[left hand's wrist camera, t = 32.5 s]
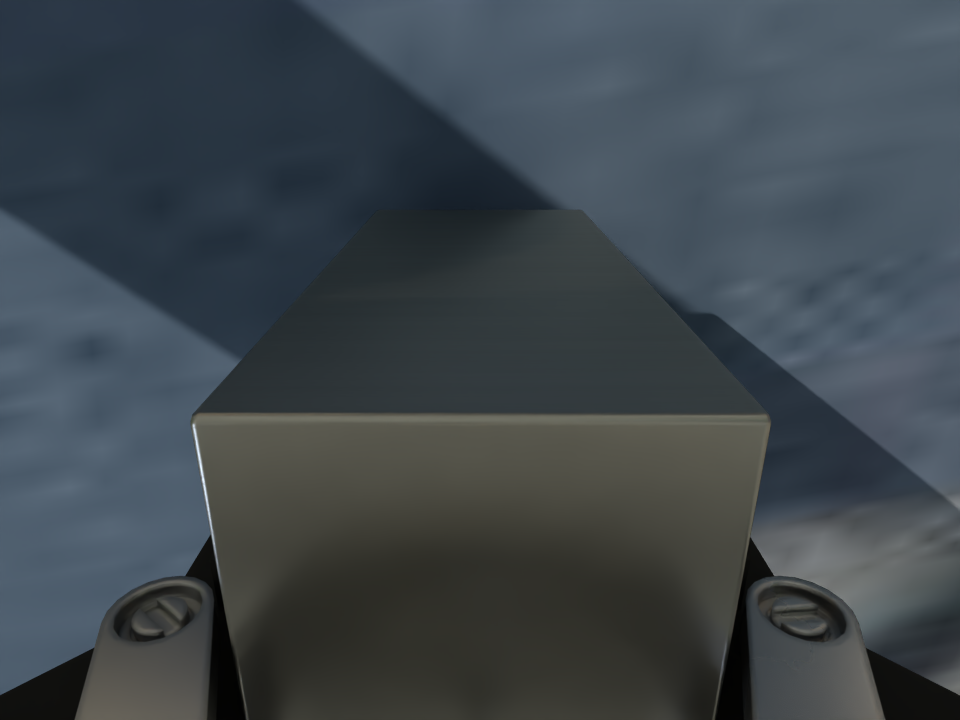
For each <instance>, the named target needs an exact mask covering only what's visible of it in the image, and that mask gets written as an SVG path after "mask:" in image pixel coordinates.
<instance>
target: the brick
mask: <svg viewBox="0 0 960 720" xmlns="http://www.w3.org/2000/svg"><path fill="white" fill-rule="evenodd" d="M770 426H771V419H770V416H769V414H768V413H767V411H766V410H765V409H764V408H763V407H762V406H761V405H760V404H759V403H758V402H757V401H756V399H755V398H754V397H753V396H752V395H751V394H750V393H749V392H748V391H747V390H746V388H745V387H744V386H743V385H742V384H741V383H740V382H739V381H738V380H737V379H736V378H735V376H734V375H733V374H732V373H731V372H730V371H729V370H728V369H727V368H726V367H725V366H724V364H723V363H722V362H721V361H720V360H719V359H718V358H717V357H716V356H715V355H714V354H713V352H712V351H711V350H710V349H709V348H708V347H707V346H706V345H705V344H704V343H703V342H702V340H701V339H700V338H699V337H698V336H697V335H696V334H695V333H694V332H693V331H692V330H691V328H690V327H689V326H688V325H687V324H686V323H685V322H684V321H683V320H682V319H681V318H680V316H679V315H678V314H677V313H676V312H675V311H674V310H673V309H672V308H671V307H670V306H669V304H668V303H667V302H666V301H665V300H664V299H663V298H662V297H661V296H660V295H659V294H658V292H657V291H656V290H655V289H654V288H653V287H652V286H651V285H650V284H649V283H648V282H647V280H646V279H645V278H644V277H643V276H642V275H641V274H640V273H639V272H638V271H637V270H636V268H635V267H634V266H633V265H632V264H631V263H630V262H629V261H628V260H627V259H626V258H625V256H624V255H623V254H622V253H621V252H620V251H619V250H618V249H617V248H616V247H615V245H614V244H613V243H612V242H611V241H610V240H609V239H608V238H607V237H606V236H605V235H604V233H603V232H602V231H601V230H600V229H599V228H598V227H597V226H596V225H595V224H594V223H593V221H592V220H591V219H590V218H589V217H588V216H587V215H586V214H585V213H584V212H583V211H582V210H378V211H376V212H375V213H374V214H373V216H372V217H371V218H370V219H369V220H368V221H367V222H366V223H365V224H364V226H363V227H362V228H361V229H360V230H359V231H358V232H357V233H356V234H355V235H354V237H353V238H352V239H351V240H350V241H349V242H348V243H347V244H346V245H345V247H344V248H343V249H342V250H341V251H340V252H339V253H338V254H337V255H336V256H335V258H334V259H333V260H332V261H331V262H330V263H329V264H328V265H327V266H326V268H325V269H324V270H323V271H322V272H321V273H320V274H319V275H318V276H317V277H316V279H315V280H314V281H313V282H312V283H311V284H310V285H309V286H308V287H307V288H306V290H305V291H304V292H303V293H302V294H301V295H300V296H299V297H298V298H297V300H296V301H295V302H294V303H293V304H292V305H291V306H290V307H289V308H288V309H287V311H286V312H285V313H284V314H283V315H282V316H281V317H280V318H279V319H278V321H277V322H276V323H275V324H274V325H273V326H272V327H271V328H270V329H269V330H268V332H267V333H266V334H265V335H264V336H263V337H262V338H261V339H260V340H259V342H258V343H257V344H256V345H255V346H254V347H253V348H252V349H251V350H250V351H249V353H248V354H247V355H246V356H245V357H244V358H243V359H242V360H241V361H240V363H239V364H238V365H237V366H236V367H235V368H234V369H233V370H232V371H231V372H230V374H229V375H228V376H227V377H226V378H225V379H224V380H223V381H222V382H221V383H220V385H219V386H218V387H217V388H216V389H215V390H214V391H213V392H212V393H211V395H210V396H209V397H208V398H207V399H206V400H205V401H204V402H203V403H202V404H201V406H200V407H199V408H198V409H197V410H196V411H195V412H194V413H193V414H192V418H191V429H192V435H193V440H194V446H195V451H196V457H197V462H198V467H199V473H200V478H201V484H202V489H203V495H204V500H205V505H206V511H207V516H208V522H209V527H210V533H211V538H212V544H213V549H214V554H215V560H216V565H217V571H218V576H219V582H220V587H221V592H222V598H223V603H224V609H225V614H226V620H227V625H228V631H229V636H230V641H231V647H232V652H233V658H234V663H235V669H236V674H237V679H238V685H239V690H240V696H241V701H242V707H243V712H244V717H245V720H716V718H717V713H718V708H719V702H720V697H721V691H722V686H723V681H724V675H725V670H726V664H727V659H728V653H729V648H730V643H731V637H732V632H733V626H734V621H735V616H736V610H737V605H738V599H739V594H740V589H741V583H742V578H743V572H744V567H745V562H746V556H747V551H748V545H749V540H750V535H751V529H752V524H753V518H754V513H755V508H756V502H757V497H758V491H759V486H760V481H761V475H762V470H763V464H764V459H765V454H766V448H767V443H768V437H769V432H770Z"/></svg>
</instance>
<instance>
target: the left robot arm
mask: <svg viewBox="0 0 960 720" xmlns="http://www.w3.org/2000/svg"><path fill="white" fill-rule="evenodd" d="M0 720H245V717H244V712H243V707H242V701H241V696H240V690H239V685H238V679H237V674H236V669H235V663H234V658H233V652H232V647H231V641H230V636H229V631H228V625H227V620H226V614H225V609H224V603H223V598H222V592H221V587H220V582H219V576H218V571H217V565H216V560H215V554H214V549H213V544H212V538H211V535H210V537H209V538H208V540H207V541H206V543H205V545H204V546H203V548H202V550H201V551H200V553H199V554H198V556H197V558H196V559H195V561H194V563H193V564H192V566H191V567H190V569H189V571H188V572H187V574H186V576H175V577H165V578H161V579H158V580H154V581H151V582H148V583H145V584H143V585H141V586H139V587H137V588H135V589H133V590H131V591H130V592H128V593H127V594H125V595H124V596H122V597H121V598H120V599H118V600H117V601H116V602H115V603H114V604H113V605H112V606H111V608H110V609H109V610H108V611H107V613H106V615H105V617H104V619H103V621H102V623H101V626H100V629H99V633H98V637H97V640H96V644H95V648H93V649H91V650H89V651H87V652H85V653H83V654H81V655H79V656H77V657H75V658H73V659H71V660H69V661H67V662H65V663H63V664H61V665H59V666H57V667H55V668H53V669H51V670H49V671H47V672H45V673H43V674H41V675H39V676H37V677H35V678H33V679H31V680H29V681H28V682H26V683H24V684H22V685H20V686H18V687H16V688H14V689H12V690H10V691H8V692H6V693H4V694H2V695H0ZM716 720H960V695H958V694H956V693H954V692H952V691H950V690H948V689H946V688H944V687H942V686H940V685H938V684H936V683H934V682H932V681H930V680H928V679H926V678H924V677H922V676H920V675H918V674H916V673H914V672H912V671H910V670H908V669H906V668H904V667H902V666H900V665H898V664H896V663H894V662H892V661H890V660H888V659H886V658H884V657H882V656H881V655H879V654H877V653H875V652H873V651H871V650H869V649H867V648H865V644H864V640H863V637H862V633H861V629H860V626H859V623H858V621H857V619H856V617H855V615H854V613H853V611H852V610H851V609H850V608H849V606H848V605H847V604H846V603H845V602H844V601H843V600H842V599H840V598H839V597H838V596H836V595H835V594H833V593H832V592H830V591H829V590H827V589H825V588H823V587H821V586H819V585H817V584H815V583H812V582H809V581H806V580H802V579H799V578H795V577H785V576H774V575H773V573H772V572H771V570H770V568H769V567H768V565H767V564H766V562H765V560H764V559H763V557H762V555H761V554H760V552H759V551H758V549H757V547H756V546H755V544H754V542H753V541H752V539H751V538H750V540H749V545H748V551H747V556H746V562H745V567H744V572H743V578H742V583H741V589H740V594H739V599H738V605H737V610H736V616H735V621H734V626H733V632H732V637H731V643H730V648H729V653H728V659H727V664H726V670H725V675H724V681H723V686H722V691H721V697H720V702H719V708H718V713H717V718H716Z"/></svg>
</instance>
